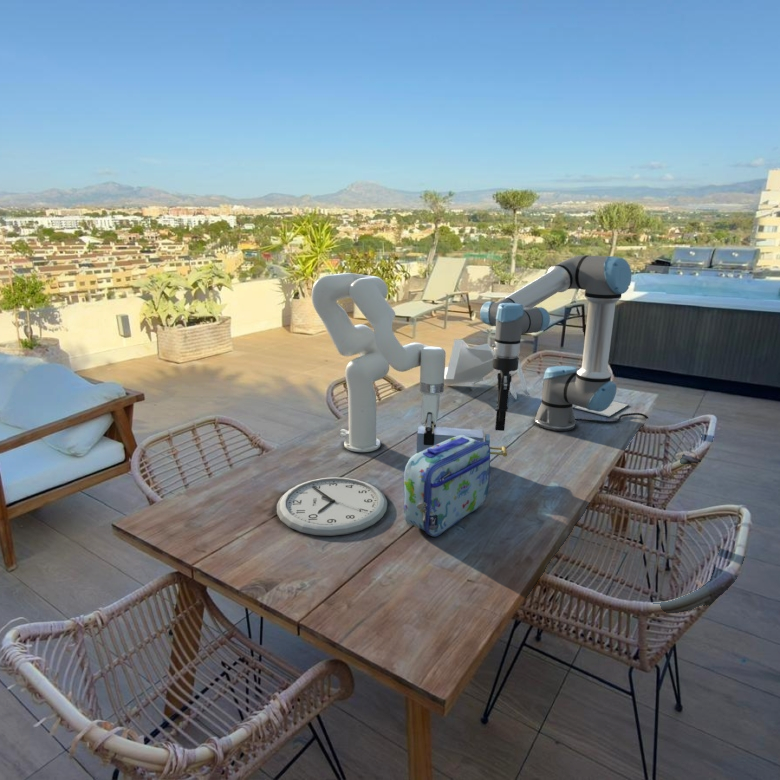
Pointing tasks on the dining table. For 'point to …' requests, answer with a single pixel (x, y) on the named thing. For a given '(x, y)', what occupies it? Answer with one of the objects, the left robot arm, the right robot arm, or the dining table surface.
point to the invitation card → (609, 411)
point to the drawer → (504, 451)
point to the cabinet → (446, 435)
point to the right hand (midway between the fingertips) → (499, 429)
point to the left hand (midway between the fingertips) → (429, 439)
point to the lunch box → (446, 483)
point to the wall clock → (331, 506)
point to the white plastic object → (475, 365)
